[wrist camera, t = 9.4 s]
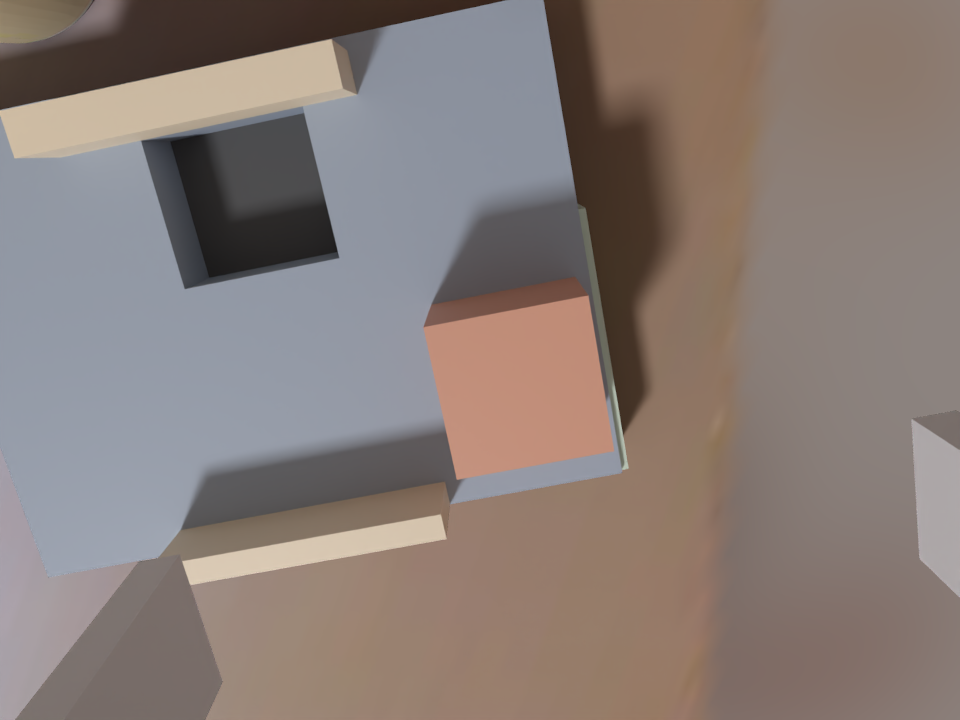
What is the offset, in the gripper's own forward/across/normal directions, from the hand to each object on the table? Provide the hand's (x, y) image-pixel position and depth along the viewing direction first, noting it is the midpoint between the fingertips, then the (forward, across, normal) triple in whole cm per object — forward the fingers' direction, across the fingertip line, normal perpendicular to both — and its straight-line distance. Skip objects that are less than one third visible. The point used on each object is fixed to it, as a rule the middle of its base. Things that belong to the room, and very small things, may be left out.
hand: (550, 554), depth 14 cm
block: (+17, 0, -1) cm, 17 cm away
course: (+20, -9, +2) cm, 22 cm away
